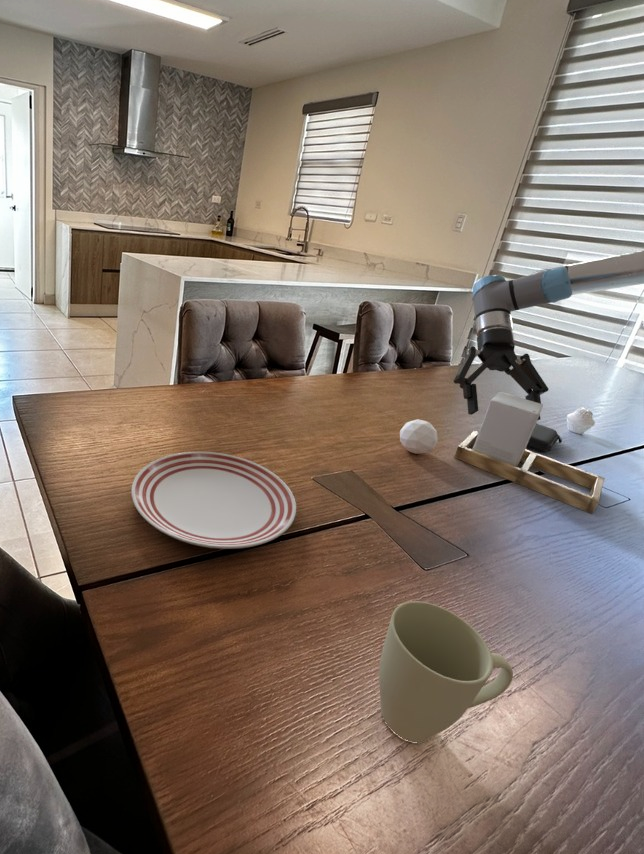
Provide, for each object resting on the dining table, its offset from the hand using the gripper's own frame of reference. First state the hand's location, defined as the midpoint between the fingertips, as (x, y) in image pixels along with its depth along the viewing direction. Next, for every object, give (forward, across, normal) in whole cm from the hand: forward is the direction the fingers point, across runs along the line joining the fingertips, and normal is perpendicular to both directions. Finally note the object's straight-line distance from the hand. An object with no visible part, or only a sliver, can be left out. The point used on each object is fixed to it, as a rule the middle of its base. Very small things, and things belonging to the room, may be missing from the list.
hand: (503, 416), depth 106 cm
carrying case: (-1, -17, -16) cm, 23 cm away
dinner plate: (+32, +63, +17) cm, 73 cm away
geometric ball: (+10, +18, -5) cm, 21 cm away
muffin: (-9, -35, -24) cm, 43 cm away
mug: (+54, +40, +40) cm, 78 cm away
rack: (+12, -5, -3) cm, 13 cm away
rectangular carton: (+9, 0, -6) cm, 11 cm away
